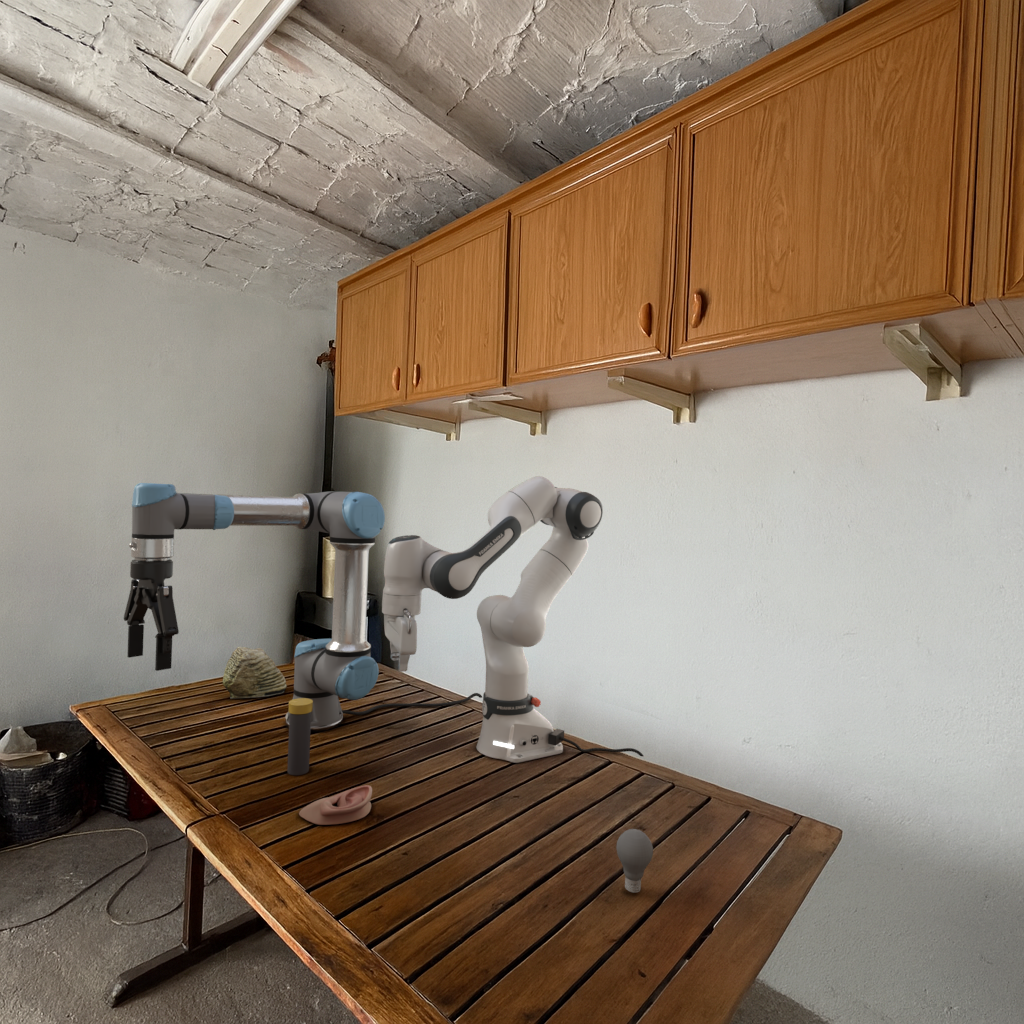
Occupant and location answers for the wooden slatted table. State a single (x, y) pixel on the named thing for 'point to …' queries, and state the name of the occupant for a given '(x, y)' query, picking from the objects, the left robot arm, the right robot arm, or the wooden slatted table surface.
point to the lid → (300, 706)
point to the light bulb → (634, 857)
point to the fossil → (252, 674)
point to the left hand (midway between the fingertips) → (148, 662)
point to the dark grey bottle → (299, 743)
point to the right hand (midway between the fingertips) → (398, 665)
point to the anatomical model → (339, 807)
